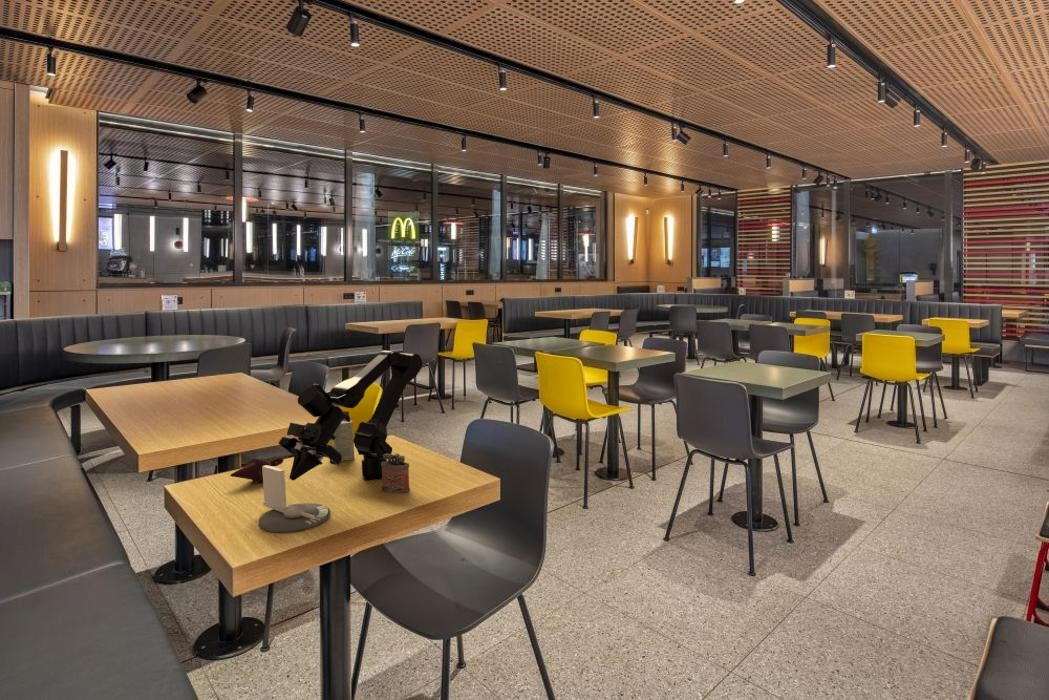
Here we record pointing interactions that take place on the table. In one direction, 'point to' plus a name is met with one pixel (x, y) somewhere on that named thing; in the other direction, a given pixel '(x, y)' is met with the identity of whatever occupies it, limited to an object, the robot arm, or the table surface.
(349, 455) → the skincare box
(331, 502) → the table surface
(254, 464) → the maroon gnome figurine
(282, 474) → the rotary selector knob
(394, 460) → the lighter
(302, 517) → the tuner dial
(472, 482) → the table surface
